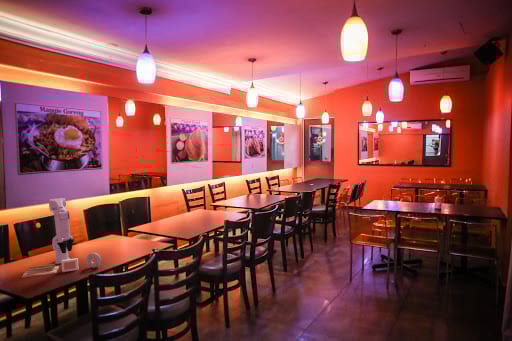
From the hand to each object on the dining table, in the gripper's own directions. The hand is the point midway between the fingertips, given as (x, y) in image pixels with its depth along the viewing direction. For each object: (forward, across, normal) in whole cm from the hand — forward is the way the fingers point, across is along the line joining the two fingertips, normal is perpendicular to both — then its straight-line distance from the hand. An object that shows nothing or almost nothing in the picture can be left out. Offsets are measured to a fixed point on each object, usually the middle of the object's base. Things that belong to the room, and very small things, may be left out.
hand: (66, 252), depth 215 cm
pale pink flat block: (+12, +4, +1) cm, 13 cm away
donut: (+13, +6, -13) cm, 20 cm away
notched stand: (+11, +3, +18) cm, 21 cm away
